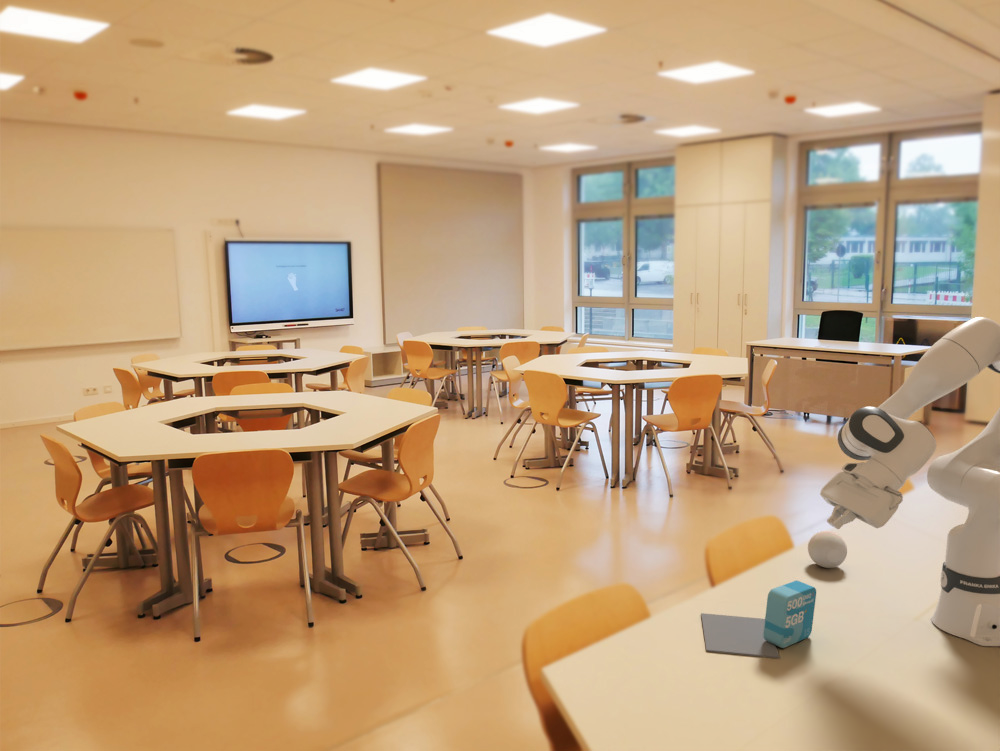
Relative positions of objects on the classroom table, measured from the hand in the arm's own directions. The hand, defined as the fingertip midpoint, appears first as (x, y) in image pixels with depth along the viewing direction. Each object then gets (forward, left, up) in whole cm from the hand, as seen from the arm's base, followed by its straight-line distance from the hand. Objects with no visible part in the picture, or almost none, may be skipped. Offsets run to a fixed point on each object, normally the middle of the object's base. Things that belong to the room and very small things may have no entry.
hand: (832, 525), depth 172 cm
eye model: (-9, -41, -25) cm, 49 cm away
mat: (+20, +6, -25) cm, 32 cm away
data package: (+9, +6, -25) cm, 27 cm away
